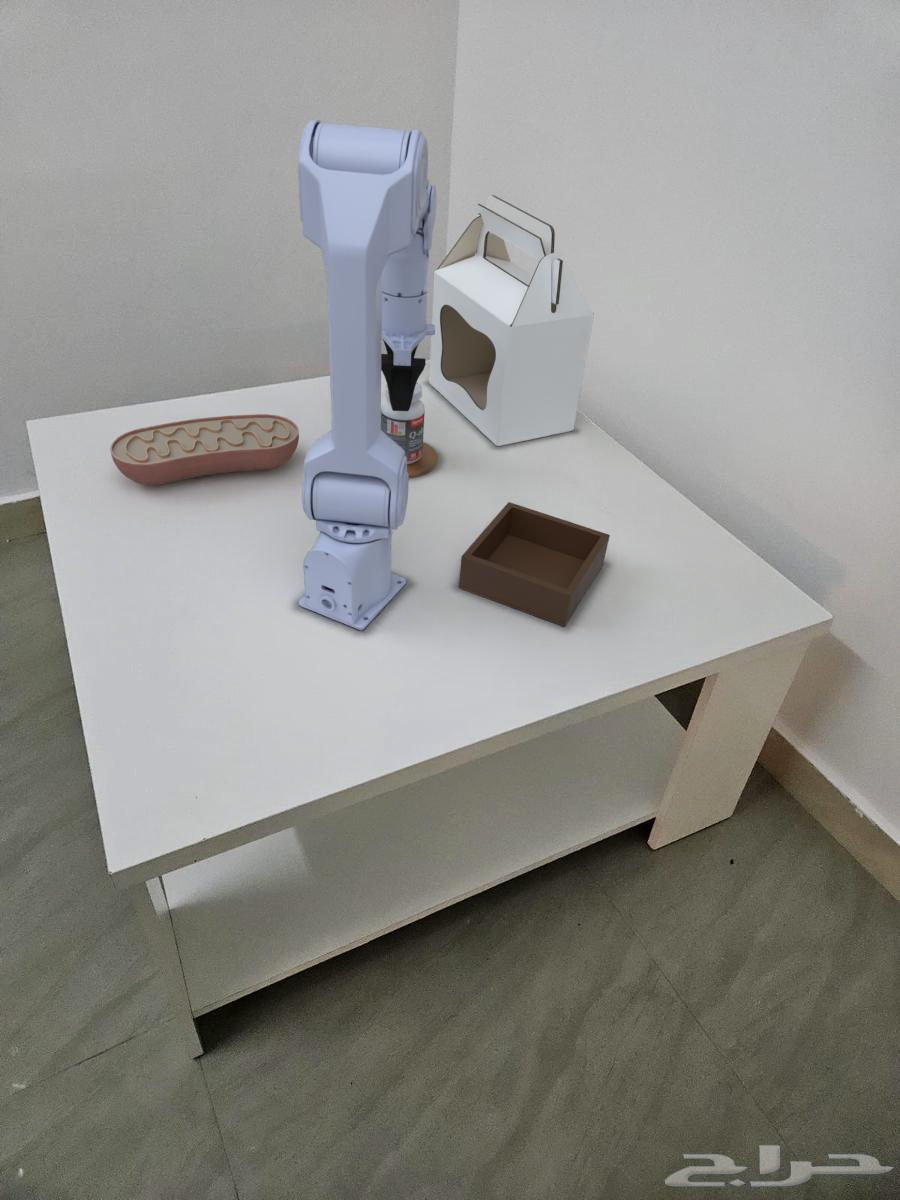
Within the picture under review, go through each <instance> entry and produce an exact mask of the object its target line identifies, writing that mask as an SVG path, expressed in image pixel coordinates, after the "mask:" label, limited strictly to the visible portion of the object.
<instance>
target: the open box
mask: <svg viewBox="0 0 900 1200" xmlns="http://www.w3.org/2000/svg"><path fill="white" fill-rule="evenodd" d="M478 535H479V536H478V537H477V538H476V539H475V540H474V541H473V542H472V543H471V545H470V546H468V548H467V549H466V550H465V551H464V553H463V554H462V555H461V557H460V567H459V578H458V579H459V580H458V589H460V590H463V591H466V592H469V593H471V594H474V595H476V596H479V597H482V598H485V599H488V600H490V601H493V602H495V603H498V604H501V605H504V606H507V607H509V608H512V609H515V610H517V611H519V612H523V613H526V614H528V615H531V616H533V617H536V618H539V619H542V620H543V621H547V622H550V623H552V624H554V625H558V626H561V627H563V628H565V627H566V626H567V624H568V623H569V621H570V619H571V618H572V617H573V615H574V613H575V611H576V610H577V608H578V606H579V605H580V603H581V602H582V599H583V598H584V596H585V595H586V593H587V592H588V590H589V589H590V587H591V585H592V584H593V582H594V580H595V579H596V578H597V576H598V574H599V573H600V571H601V570H602V568H603V566H604V562H605V557H606V554H607V549H608V544H609V541H610V537H611V535H610V534H609V533H606V532H602V531H599V530H596V529H593V528H591V527H588V526H584V525H581V524H578V523H576V522H575V523H574V522H571V521H569V520H565V519H563V518H559V517H558V516H557V517H556V516H553V515H550V514H547V513H545V512H542V511H538V510H535V509H532V508H529V507H526V506H522V505H519V504H517V503H514V502H510V501H508V502H507V503H506V505H504V506H503V508H502V509H501V510H500V511H499V512H498V513H497V515H495V517H494V518H493V519H492V520H491V522H490V523H489V524H488V525H487V526H486V527H485V528H484V530H483V531H482V532H481V533H480V534H478Z"/></svg>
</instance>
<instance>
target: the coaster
mask: <svg viewBox="0 0 900 1200" xmlns="http://www.w3.org/2000/svg"><path fill="white" fill-rule="evenodd" d="M437 464H438V453H437V451H436V450H435V449H434V448H433V447H432V446H431V445H429V444H428V443H427V442H424V441H423V453H422V456H421V458H420V459H419V460H418V461H416V462H414V463H411V464H407V473H408V477H409V479H411V478H417V477H420V476H424V475H426V474H429V473H430V472H431V471H433V470H434V469H435V468H436V466H437Z"/></svg>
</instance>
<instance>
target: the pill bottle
mask: <svg viewBox="0 0 900 1200" xmlns="http://www.w3.org/2000/svg"><path fill="white" fill-rule="evenodd" d="M384 389H385V392H384V395H385V397H386V398H385V399H384V400H383V401H382V402H381V430H382V431H383V432H384V433H385V434H386V435H387V436H388V437H390V438H391V439H392V440H393V441H394V442H396V443H397V444H398V445H399V446H400V447H401V448H402V449H403V450H404V451H405V456H406V457H407V464H411V463H414V462H416V461H418V460H419V459H420V458H421V456H422V453H423V442H424V433H425V430H424V429H425V406H424V403H423V401H422V400H421V399H422V397H423V387H422V385H421V384H420V383H419V382H417V383H416V386H415V389H414V393H413V398H412V402H411V406H410V409H409V411H393V410H392V407H391V403H390V398H389V392H388V386H387V384H385V387H384Z"/></svg>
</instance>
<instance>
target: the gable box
mask: <svg viewBox="0 0 900 1200" xmlns="http://www.w3.org/2000/svg"><path fill="white" fill-rule="evenodd" d="M477 208H478V210H479V213H476V217H475V218H474V219H473V220H471V222H470V223H469V224H468V226H467V227H466V229H465V230H464V231H463V232H462V234H461V235H460V237H459V238H458V240H457V241H456V242H455V244H454V245H453V246H452V248H451V249H450V251H449V252H448V254H447V255H446V256H445V257H444V259H443V260H442V261H441V263H440V265H438V267H437V269H435V271H434V273H433V274H434V275H433V292H432V293H433V294H432V314H431V324H434V325H435V335H430V336H431V337H430V355H429V375H428V376H429V377H428V383H429V385H431V386H432V387H433V388H434V389H435V390H436V391H438V393H440V394H441V395H442V396H443V398H445V399H446V400H447V401H448V402H449V403H450V404H451V405H452V406H453V407H455V409H456V410H458V411H459V412H460V413H461V414H462V415H463V416H464V417H465V418H466V419H467V420H468V421H469V422H470V423H471V424H473V425H474V426H475V428H477V429H478V430H479V431H480V432H481V433H482V434H483V435H484V436H485V437H487V438H488V439H489V441H491V442H492V443H493V444H494V445H495V446H496V447H502V446H506V445H511V444H517V443H520V442H524V441H525V442H526V441H530V440H535V439H540V438H545V437H549V436H555V435H559V434H563V433H568V432H573V431H574V429H575V424H576V419H577V414H578V407H579V402H580V397H581V391H582V384H583V379H584V373H585V367H586V362H587V356H588V351H589V345H590V339H591V334H592V329H593V322H594V316H595V313H594V312H593V310H592V308H591V305H590V303H589V302H588V300H587V298H586V296H585V294H584V292H583V289H582V287H581V285H580V283H579V281H578V279H577V277H576V275H575V273H574V271H573V268H572V267H571V265H570V262H569V260H568V259H567V258H566V256H564V255H563V254H561V253H559V252H555V240H556V238H555V237H556V234H555V233H556V232H555V229H554V226H552V225H551V224H550V223H548V222H546V221H544V220H542V219H540V218H538V217H536V216H534V215H533V214H531V213H529V212H527V211H525V210H522V209H521V208H519V207H517V206H516V205H513V204H512V203H510V202H508V201H506V200H504V199H502V198H500V197H498V196H497V195H495V194H491V195H489V196H488V197H487V200H486V205H485V206H484V205H483V204H481V203H478V204H477ZM505 242H507V243H508V244H510V245H512V246H513V247H515V248H516V249H518V250H520V251H521V252H523V253H524V254H527V255H528V256H530V257H531V258H533V259H534V260H537V261H538V263H537V266H536V268H535V269H534V272H533V274H532V273H530V272H529V271H526V270H525V269H523V268H522V267H520V266H518V264H516V263H514V262H511V259H510V256H509V252H508V249H507V246H506V243H505Z"/></svg>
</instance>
